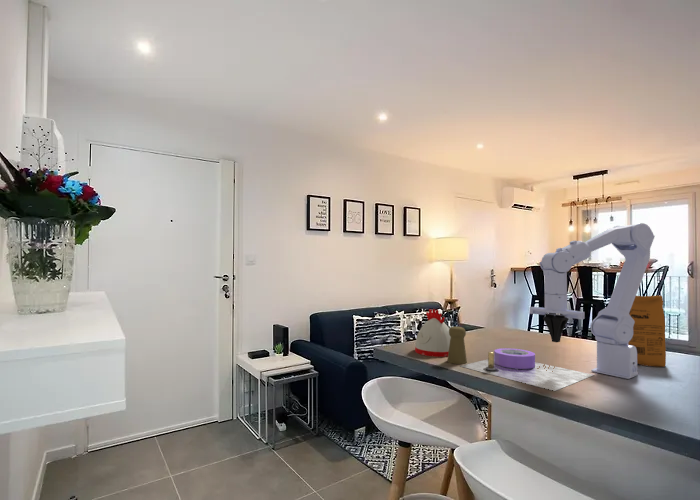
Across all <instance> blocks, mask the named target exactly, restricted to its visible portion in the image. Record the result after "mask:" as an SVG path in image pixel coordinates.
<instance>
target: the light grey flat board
mask: <svg viewBox="0 0 700 500" xmlns="http://www.w3.org/2000/svg"><path fill="white" fill-rule="evenodd" d="M544 364H545V366H546V368H545V366H544V367H543V365H544ZM549 365H550V364H546V363H541V362H536V361H535V367H534V368H530V369H515V368H508V367H503V366H499V365H497V364H495V363H494V367H495V368H496V371H488V370H486V367H488V358H487V359H483V360H479V361H475V362H471V363H466V364H461V365H459V367H461V368H465V369H468V370H472V371H477V372H481V373H483V374H488V375H491V376H495V377H499V378H502V379H507V380H510V381H513V382H514V381H515V382H519V383H521V382H522V384H525V383H526V385H530V386H534V387H537V388H541V389H544V388H545V390H548V389H549V390H548V391H552V390H553V392H556V391H559V390H561V389H564V388H565V387H566V388H567V387H569V386H571V385H573V384H576V383H579V382H580V381H583V380H585V379H588V378H591V377H594V374H591V373H587V372H583V371H577V370H573V369H569V368H564V367H560V366H555V368H554V365H550V367H549ZM539 366H540V368H539ZM548 367H549V369H548ZM537 368H539V369H537ZM544 368H545V369H544ZM553 368H554V369H553ZM546 370H547V371H546ZM552 371H553V372H552Z"/></svg>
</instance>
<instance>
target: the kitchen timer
mask: <svg viewBox="0 0 700 500" xmlns="http://www.w3.org/2000/svg"><path fill="white" fill-rule="evenodd" d="M425 315H426V317H427V321H425V322H424V324H423V325H422V326H421V327H420V329H419V331H418V332H417V336H416V339H415V340H416V341H415V345H414V347H415V349H414V351H415V353H416V354H418V355H422V356H427V357H428V356H429V357H436V358H442V357H445V358H446V357H447V358H448V352H449V345H450V338H451V337H450V335H449V329H450V327H449V326H448V325H447V324H446V323H445V319H446V317H445V316H443V317H442V313H441V312H440V313H439V309H435V308H432V309H430V308H429V309H428V311H426V312H425Z"/></svg>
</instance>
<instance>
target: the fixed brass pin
mask: <svg viewBox="0 0 700 500" xmlns="http://www.w3.org/2000/svg"><path fill="white" fill-rule="evenodd" d="M487 355H488V356H487V357H488V358H487V359H488V367H486V370H488V371H496V368H495V367H494V352H493V351H488V352H487Z"/></svg>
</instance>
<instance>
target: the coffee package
mask: <svg viewBox="0 0 700 500" xmlns="http://www.w3.org/2000/svg"><path fill="white" fill-rule="evenodd" d="M663 307H664V298H663V296H662V295H646V296H645V295H643V296H642V295H636V296H635V299H634V302H633V304H632V307H631V310H630V312H629V315H630V316H631V317H632V318H633V320H634V321H635V323H634V326H633V337H632V339H631V340H630V341H629V342H628V345H632V346H635V347H636V349H637V365H641V366H646V367H658V368H659V367H663V368H664V367H665V366H666V363H667V362H666V361H667V351H666V349H667V348H666V320H665V310H664V308H663Z"/></svg>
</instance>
